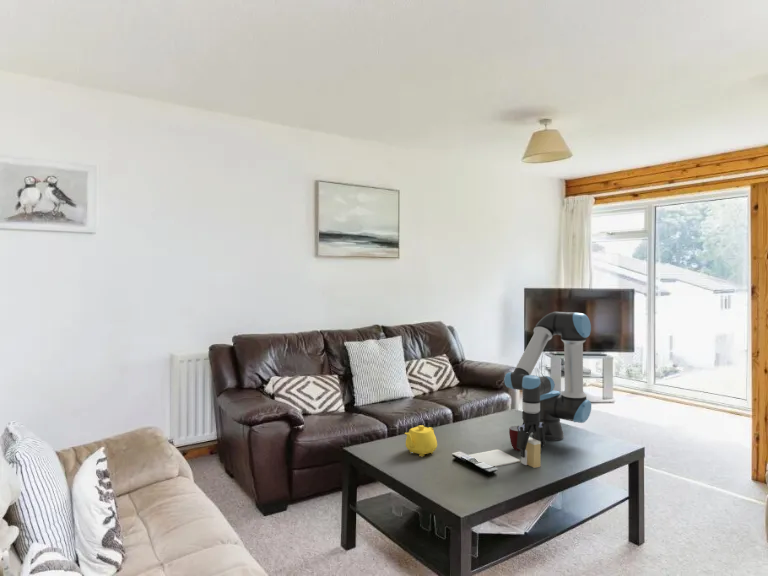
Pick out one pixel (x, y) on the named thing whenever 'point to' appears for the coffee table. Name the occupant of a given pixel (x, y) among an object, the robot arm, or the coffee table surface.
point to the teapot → (421, 440)
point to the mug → (514, 437)
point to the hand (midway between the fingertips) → (531, 462)
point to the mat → (495, 458)
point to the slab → (533, 453)
